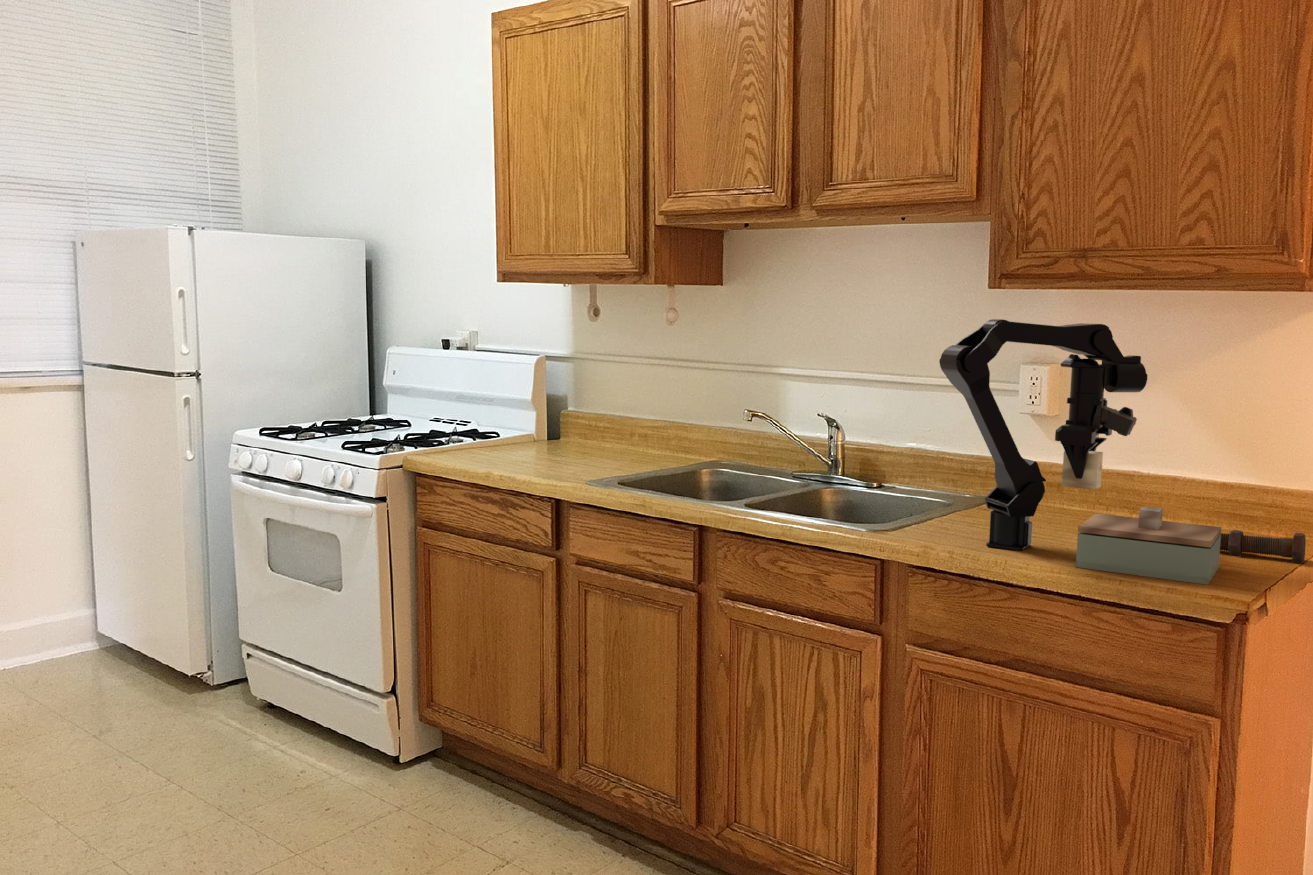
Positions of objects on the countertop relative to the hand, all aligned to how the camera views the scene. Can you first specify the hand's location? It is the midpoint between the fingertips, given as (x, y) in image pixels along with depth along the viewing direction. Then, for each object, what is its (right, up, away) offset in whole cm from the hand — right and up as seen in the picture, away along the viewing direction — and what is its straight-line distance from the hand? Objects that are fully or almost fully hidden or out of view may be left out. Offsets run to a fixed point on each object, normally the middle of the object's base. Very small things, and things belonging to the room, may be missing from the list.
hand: (1081, 477), depth 200 cm
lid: (+4, -9, -18) cm, 20 cm away
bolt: (+28, -14, -7) cm, 32 cm away
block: (0, -2, 0) cm, 2 cm away
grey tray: (+6, -14, -14) cm, 21 cm away
